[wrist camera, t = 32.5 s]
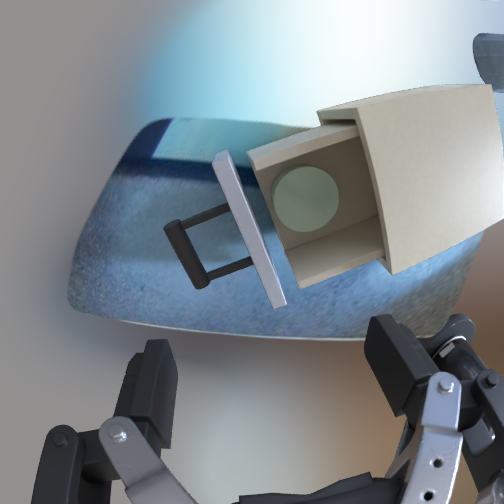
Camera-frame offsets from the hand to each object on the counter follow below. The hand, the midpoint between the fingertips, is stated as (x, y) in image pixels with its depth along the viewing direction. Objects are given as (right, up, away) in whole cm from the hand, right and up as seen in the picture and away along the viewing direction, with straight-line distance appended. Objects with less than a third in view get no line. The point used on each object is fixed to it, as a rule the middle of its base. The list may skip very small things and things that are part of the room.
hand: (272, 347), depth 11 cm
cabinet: (+15, +14, +16) cm, 26 cm away
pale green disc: (+4, +9, +15) cm, 18 cm away
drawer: (+2, +9, +17) cm, 19 cm away
